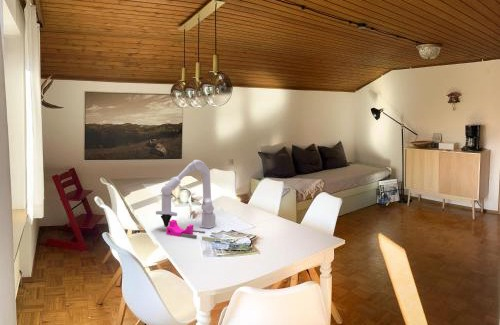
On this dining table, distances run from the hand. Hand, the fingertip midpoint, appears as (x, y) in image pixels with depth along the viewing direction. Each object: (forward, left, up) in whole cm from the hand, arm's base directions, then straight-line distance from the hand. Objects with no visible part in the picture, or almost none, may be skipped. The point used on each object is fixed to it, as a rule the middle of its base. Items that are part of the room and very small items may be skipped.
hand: (166, 226), depth 242 cm
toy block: (+3, +11, -4) cm, 12 cm away
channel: (0, +19, -4) cm, 19 cm away
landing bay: (0, +35, -4) cm, 35 cm away
